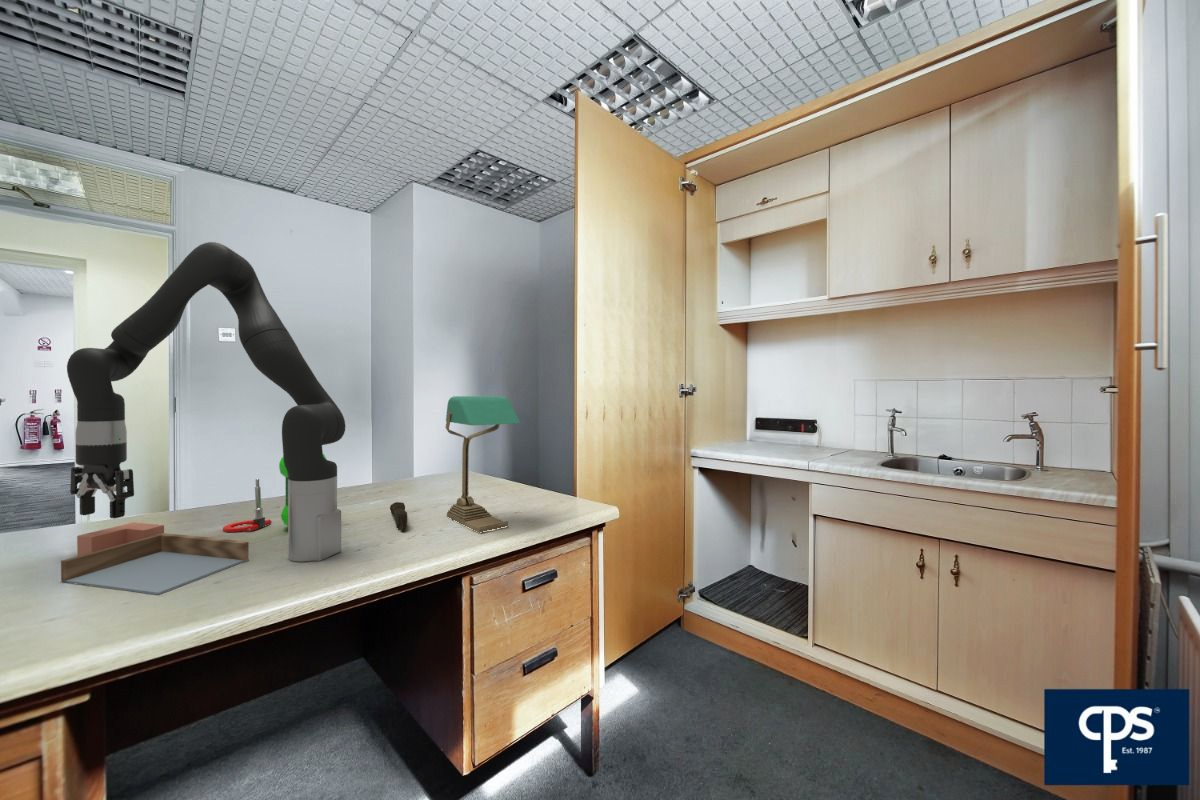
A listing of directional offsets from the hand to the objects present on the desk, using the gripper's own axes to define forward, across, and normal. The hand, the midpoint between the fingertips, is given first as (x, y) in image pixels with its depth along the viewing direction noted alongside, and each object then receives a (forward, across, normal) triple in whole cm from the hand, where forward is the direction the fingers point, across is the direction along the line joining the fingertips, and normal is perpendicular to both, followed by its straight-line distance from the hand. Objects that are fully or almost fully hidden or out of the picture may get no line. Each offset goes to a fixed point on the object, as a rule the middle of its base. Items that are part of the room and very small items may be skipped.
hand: (102, 515), depth 100 cm
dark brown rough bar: (+8, -47, -37) cm, 61 cm away
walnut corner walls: (+8, -21, +4) cm, 23 cm away
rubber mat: (+8, -21, +4) cm, 23 cm away
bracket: (+8, -3, -2) cm, 9 cm away
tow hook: (+9, -11, -23) cm, 27 cm away
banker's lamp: (+8, -67, -42) cm, 80 cm away
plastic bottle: (+8, -25, -27) cm, 38 cm away
